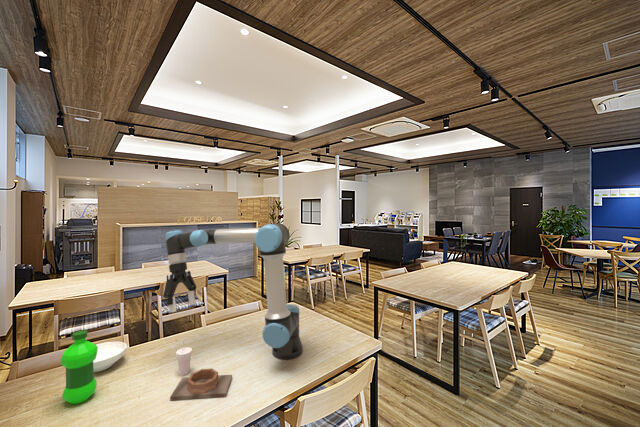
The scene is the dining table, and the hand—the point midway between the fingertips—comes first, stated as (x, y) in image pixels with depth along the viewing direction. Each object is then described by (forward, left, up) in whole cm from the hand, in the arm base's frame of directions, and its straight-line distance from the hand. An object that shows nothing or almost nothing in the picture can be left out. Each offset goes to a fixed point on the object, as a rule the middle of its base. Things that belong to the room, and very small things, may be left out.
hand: (183, 307), depth 132 cm
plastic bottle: (+21, +31, -25) cm, 45 cm away
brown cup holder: (-21, +19, -25) cm, 37 cm away
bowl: (+33, +11, -25) cm, 43 cm away
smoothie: (-7, +10, -25) cm, 28 cm away
